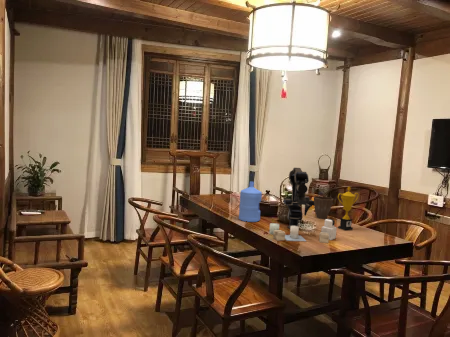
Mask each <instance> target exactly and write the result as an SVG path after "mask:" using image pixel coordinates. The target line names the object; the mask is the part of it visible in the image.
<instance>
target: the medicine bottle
mask: <svg viewBox="0 0 450 337" xmlns="http://www.w3.org/2000/svg"><path fill="white" fill-rule="evenodd" d="M335 223H336V222H335V220H334V219H333V218H326V219H324V225H323V226H321V231H320V232H323V233H328V234H329V241H332V240H335V239H337V232H338V231H337V228H338V227H336V226H335Z"/></svg>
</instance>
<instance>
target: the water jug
mask: <svg viewBox="0 0 450 337" xmlns="http://www.w3.org/2000/svg"><path fill="white" fill-rule="evenodd" d="M248 185H249V187H246V188H244V189H241V190H240V193H239V209H238V213H239V214H238V220H240V221H243V222H246V221H247V223H256V222H259V221H261V210H260V203H261V202H262V198H263V197H262V196H263V192H262V191H261V190H259V189H257V188H255V187H254V185H255V181H249V184H248Z"/></svg>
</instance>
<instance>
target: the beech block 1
mask: <svg viewBox="0 0 450 337" xmlns="http://www.w3.org/2000/svg"><path fill="white" fill-rule="evenodd" d="M285 235H286V232H285V231H284V230H281V229H279V230H274V234H273V235H272V236H273V237H272V238H273V240H276V241H277V242H279V241H286V239H285Z"/></svg>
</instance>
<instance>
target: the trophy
mask: <svg viewBox="0 0 450 337" xmlns="http://www.w3.org/2000/svg"><path fill="white" fill-rule="evenodd" d="M340 195H341V196H340ZM359 195H360V194H359V193H358V192H355V193H354V194H353V193H352V192H351V186H347V191H346V192H345V193H344V192H343V193H338V195H337V200H338V202H339V203H341V205H342V207H343V210H344V211H345V215H344V216H342V217H340V222H339V223H340V224H339V225H338V227H337V228H338V229H340V230H343V231H353V229H354V227H353V226H352V223H353V219H352V218H350V216H349V211H351V210H352V208H353V205H354V204H355V203H356V202H357V200H358V199H359ZM339 197H340V198H339ZM341 200H342V201H341Z"/></svg>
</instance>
